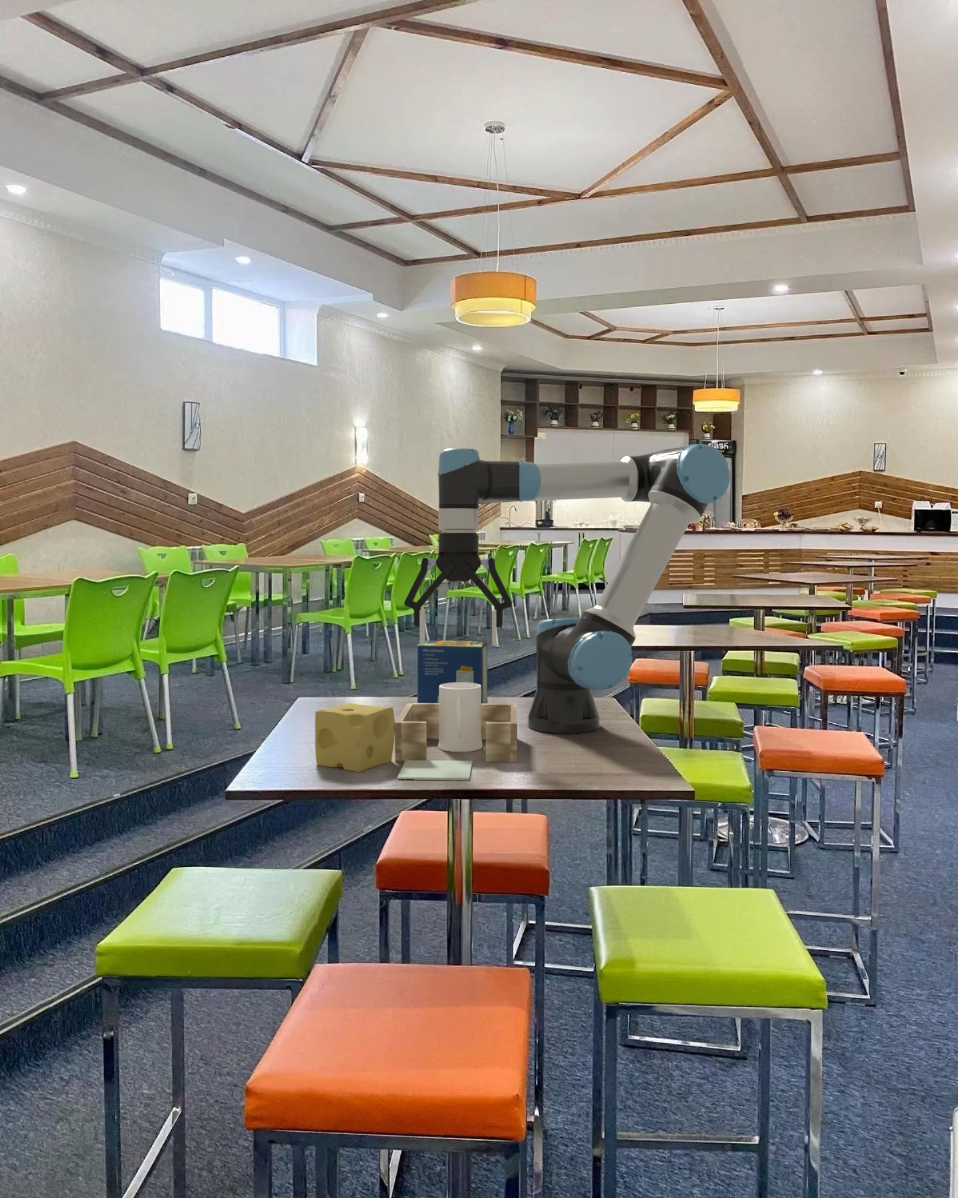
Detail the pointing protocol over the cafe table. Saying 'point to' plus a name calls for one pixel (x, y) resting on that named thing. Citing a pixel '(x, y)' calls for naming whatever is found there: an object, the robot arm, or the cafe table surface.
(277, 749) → the cafe table surface
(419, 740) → the frame
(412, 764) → the mat
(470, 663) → the protein box
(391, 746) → the cheese
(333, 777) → the cafe table surface
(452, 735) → the mug
